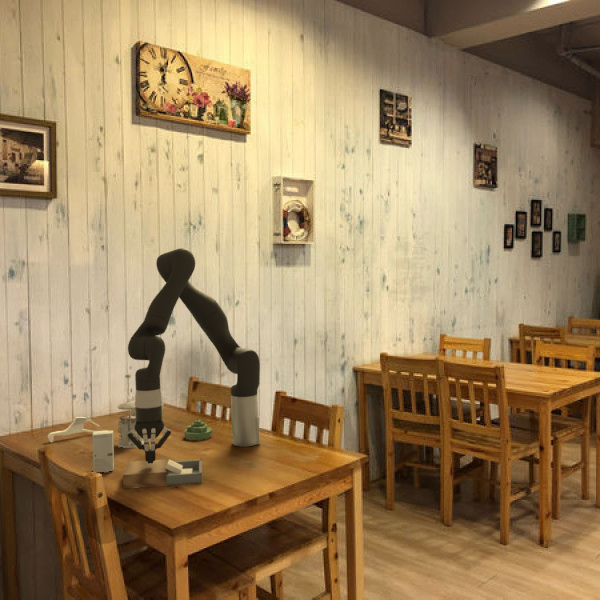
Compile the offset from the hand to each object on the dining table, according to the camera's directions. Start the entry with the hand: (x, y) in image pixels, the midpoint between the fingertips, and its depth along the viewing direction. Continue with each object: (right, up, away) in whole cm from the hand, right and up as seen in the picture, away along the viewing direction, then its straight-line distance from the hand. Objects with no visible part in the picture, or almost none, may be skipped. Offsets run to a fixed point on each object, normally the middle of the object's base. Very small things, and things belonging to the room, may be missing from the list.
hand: (150, 462), depth 187 cm
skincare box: (-17, -5, +10) cm, 20 cm away
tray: (+10, -5, +2) cm, 11 cm away
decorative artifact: (+7, -3, +46) cm, 46 cm away
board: (-1, -5, +1) cm, 6 cm away
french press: (-16, -4, +38) cm, 41 cm away
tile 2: (+10, -3, +2) cm, 10 cm away
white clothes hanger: (-39, -4, +49) cm, 63 cm away
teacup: (-17, -2, +66) cm, 68 cm away
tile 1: (+7, -2, 0) cm, 7 cm away
